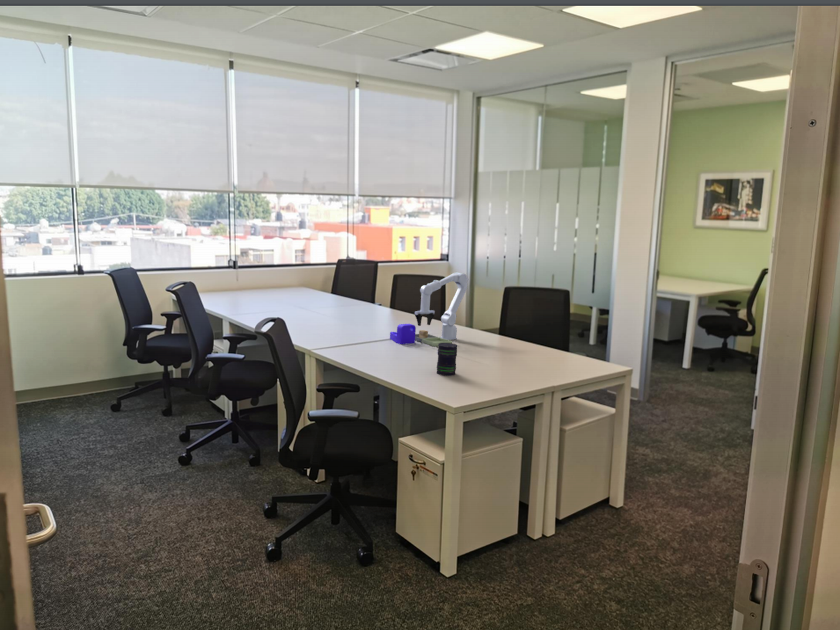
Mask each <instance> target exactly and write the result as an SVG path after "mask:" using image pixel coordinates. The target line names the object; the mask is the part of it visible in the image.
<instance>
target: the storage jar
mask: <svg viewBox="0 0 840 630" xmlns="http://www.w3.org/2000/svg"><path fill="white" fill-rule="evenodd" d="M438 346H439V347H437V355H438V356H437V362H436V374H437V375H438V376H439V375H440V376H443V377H445V376H447V377H451V376H455V375H456V370H457V357H458V356H457V355H458V345H457V344H456V343H453V342H452V343H439V344H438Z"/></svg>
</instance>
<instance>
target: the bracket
mask: <svg viewBox="0 0 840 630" xmlns="http://www.w3.org/2000/svg"><path fill="white" fill-rule="evenodd" d="M416 329H417V326H416V325H415V324H412V323H399V324H398V325H397V327H396V331H390V332H389V339H390V340H391V341H393V342H394V343H395V344H398V345H408V344H416V341H415V334H416Z"/></svg>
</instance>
